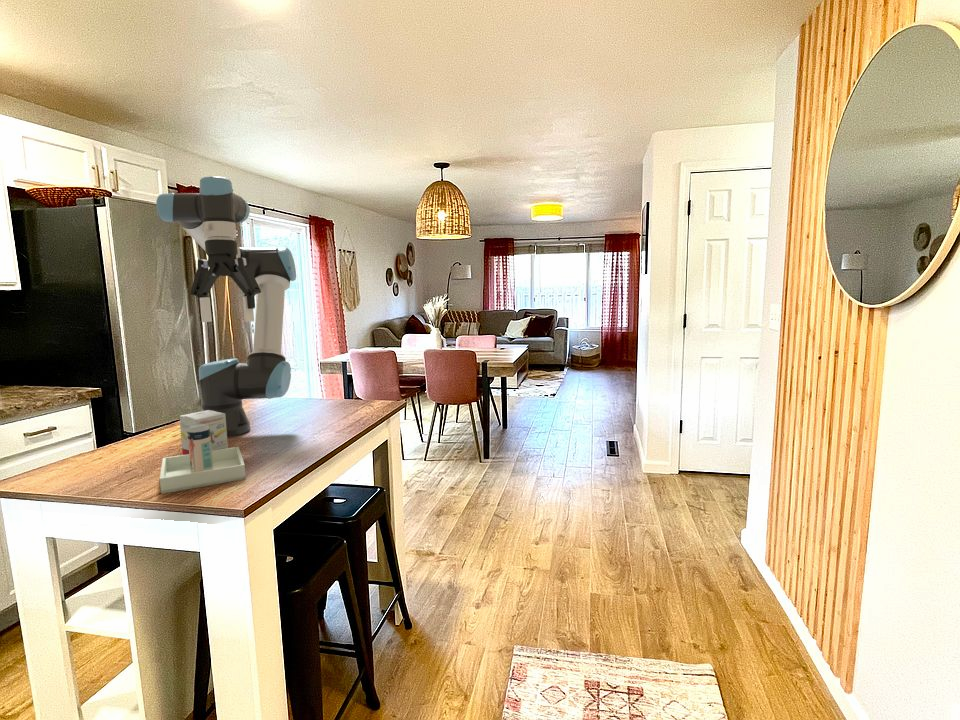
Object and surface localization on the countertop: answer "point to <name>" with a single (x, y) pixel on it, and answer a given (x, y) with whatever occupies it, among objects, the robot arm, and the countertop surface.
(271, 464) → the countertop surface
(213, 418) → the ink box
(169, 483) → the bin
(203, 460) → the beer can
